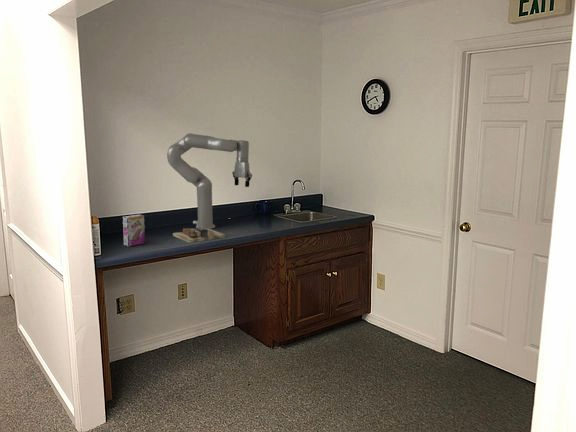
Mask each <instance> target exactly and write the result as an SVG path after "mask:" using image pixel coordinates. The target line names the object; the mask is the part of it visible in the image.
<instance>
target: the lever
mask: <svg viewBox="0 0 576 432" xmlns="http://www.w3.org/2000/svg"><path fill="white" fill-rule="evenodd" d="M195 230H196V227H195V228H190V227H187V228H182V232H183V233H185V234H186V235H188V236H190V238H195V237H197V233H196V232H195Z"/></svg>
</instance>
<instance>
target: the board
mask: <svg viewBox="0 0 576 432" xmlns="http://www.w3.org/2000/svg"><path fill="white" fill-rule="evenodd" d="M207 230H208V237H206V238H201V232H199V231H196V230H195V232H196V233H197V237H195V238H190V236H188V235H186V234H185V233H183V231H181V232H180V231H179V232H173V233H172V236H173V237H175V238H177V239H180V240H182V241H185V242H186V243H197V242H202V241H203V240H204V241H207V240H208V241H210V240H215V239H217V240H218V239H224V238H226V237H227V234H225V233H222V232H219V231H217V230H215V229H214V230H213V229H207ZM204 241H203V242H204Z"/></svg>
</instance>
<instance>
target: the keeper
mask: <svg viewBox="0 0 576 432" xmlns="http://www.w3.org/2000/svg"><path fill="white" fill-rule="evenodd" d="M195 229H196V231H199V232H201V238H206V237H208V230H207V229H204V228H201V227H199V228H196V227H195Z"/></svg>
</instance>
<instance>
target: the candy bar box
mask: <svg viewBox="0 0 576 432" xmlns="http://www.w3.org/2000/svg"><path fill="white" fill-rule="evenodd" d="M145 223H146V222H145V215H144V214H133V215H128V216H122V227H123V229H122V232H123V233H122V235H123V246H125V247H132V246H133V247H134V246H138V245H142V244H146V231H145V229H146V228H145V227H146V226H145V225H146V224H145Z"/></svg>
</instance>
